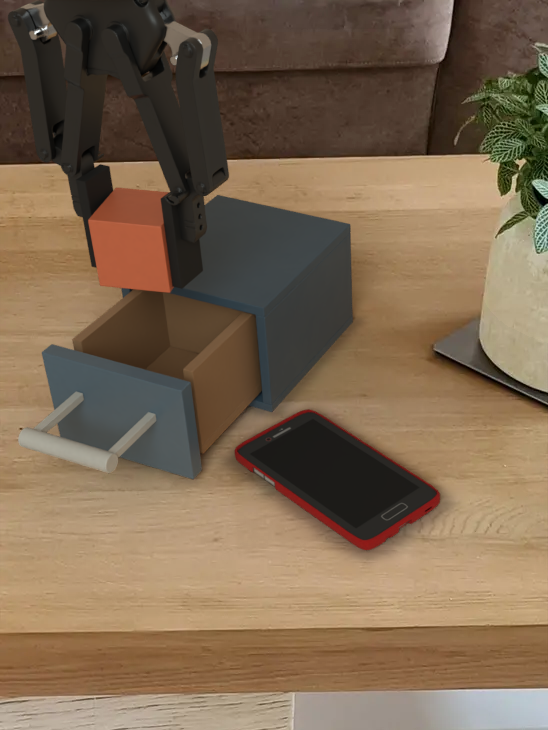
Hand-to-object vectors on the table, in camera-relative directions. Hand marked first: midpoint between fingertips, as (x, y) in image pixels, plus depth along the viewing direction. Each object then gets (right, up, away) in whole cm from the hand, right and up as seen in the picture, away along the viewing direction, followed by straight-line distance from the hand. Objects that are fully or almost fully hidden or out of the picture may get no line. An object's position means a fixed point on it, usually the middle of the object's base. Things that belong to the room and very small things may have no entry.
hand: (147, 268), depth 81 cm
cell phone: (+13, -15, +4) cm, 20 cm away
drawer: (-1, -11, +7) cm, 13 cm away
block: (0, 0, 0) cm, 0 cm away
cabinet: (+4, -4, +17) cm, 18 cm away
